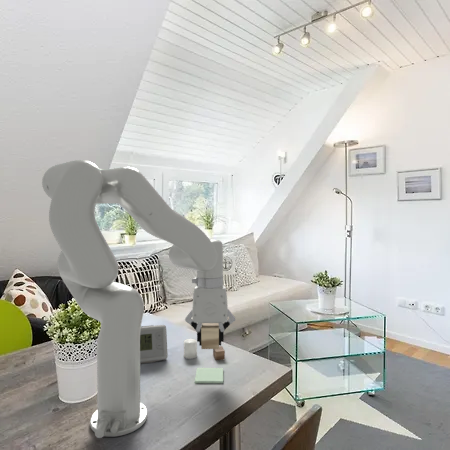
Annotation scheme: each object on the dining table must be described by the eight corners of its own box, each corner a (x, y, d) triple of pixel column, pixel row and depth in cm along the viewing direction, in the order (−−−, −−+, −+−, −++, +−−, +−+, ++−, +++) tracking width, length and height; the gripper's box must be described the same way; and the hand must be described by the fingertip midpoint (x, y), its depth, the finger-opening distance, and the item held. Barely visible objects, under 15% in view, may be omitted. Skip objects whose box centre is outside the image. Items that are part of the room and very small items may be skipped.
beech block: (218, 349, 98) (218, 328, 98) (201, 349, 98) (201, 328, 98) (219, 342, 103) (219, 322, 103) (202, 342, 103) (202, 322, 103)
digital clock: (113, 367, 106) (113, 333, 106) (119, 355, 115) (119, 323, 115) (166, 365, 108) (166, 332, 107) (168, 353, 117) (168, 322, 116)
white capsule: (196, 358, 113) (196, 343, 112) (183, 358, 113) (182, 343, 112) (197, 353, 117) (197, 338, 117) (184, 353, 117) (184, 338, 117)
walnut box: (224, 359, 112) (224, 350, 112) (215, 360, 111) (215, 351, 111) (221, 354, 116) (221, 346, 116) (213, 355, 115) (213, 346, 115)
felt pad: (223, 383, 97) (223, 381, 97) (194, 383, 97) (194, 381, 97) (223, 369, 105) (223, 368, 105) (197, 369, 105) (197, 367, 105)
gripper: (178, 285, 96) (179, 349, 97) (240, 285, 96) (240, 349, 97) (182, 279, 103) (182, 339, 104) (238, 279, 103) (239, 338, 104)
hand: (210, 343), depth 101 cm, fingers closed on beech block, 5 cm apart
